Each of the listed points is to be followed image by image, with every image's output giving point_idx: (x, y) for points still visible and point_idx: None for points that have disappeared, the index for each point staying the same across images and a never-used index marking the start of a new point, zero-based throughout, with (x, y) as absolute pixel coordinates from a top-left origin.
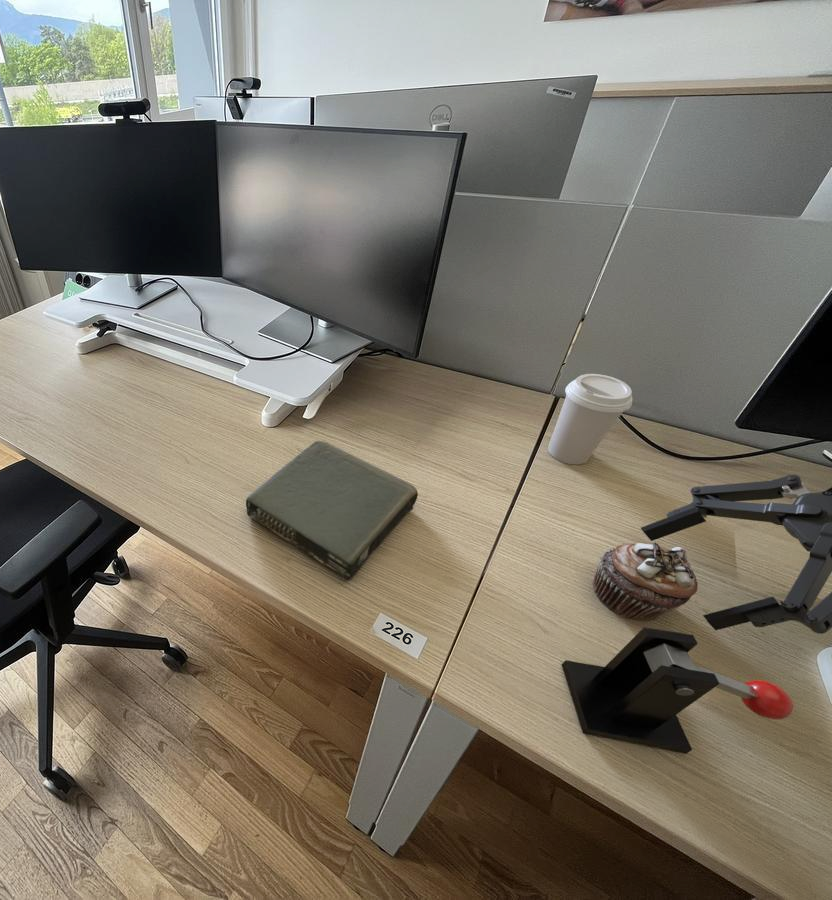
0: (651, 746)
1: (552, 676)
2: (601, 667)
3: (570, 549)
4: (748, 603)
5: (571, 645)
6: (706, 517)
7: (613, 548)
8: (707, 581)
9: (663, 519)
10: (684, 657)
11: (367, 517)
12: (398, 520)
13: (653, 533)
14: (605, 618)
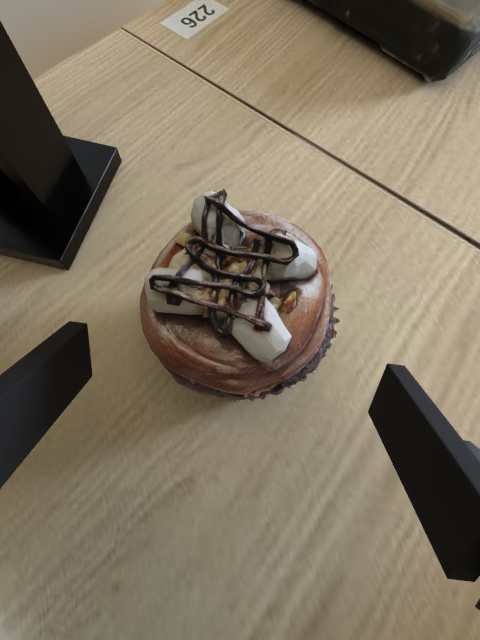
0: None
1: (107, 142)
2: (94, 187)
3: (356, 292)
4: (12, 386)
5: (149, 189)
6: (477, 607)
7: (331, 286)
8: (271, 561)
9: (439, 411)
10: None
11: None
12: (394, 40)
13: (386, 398)
14: None
